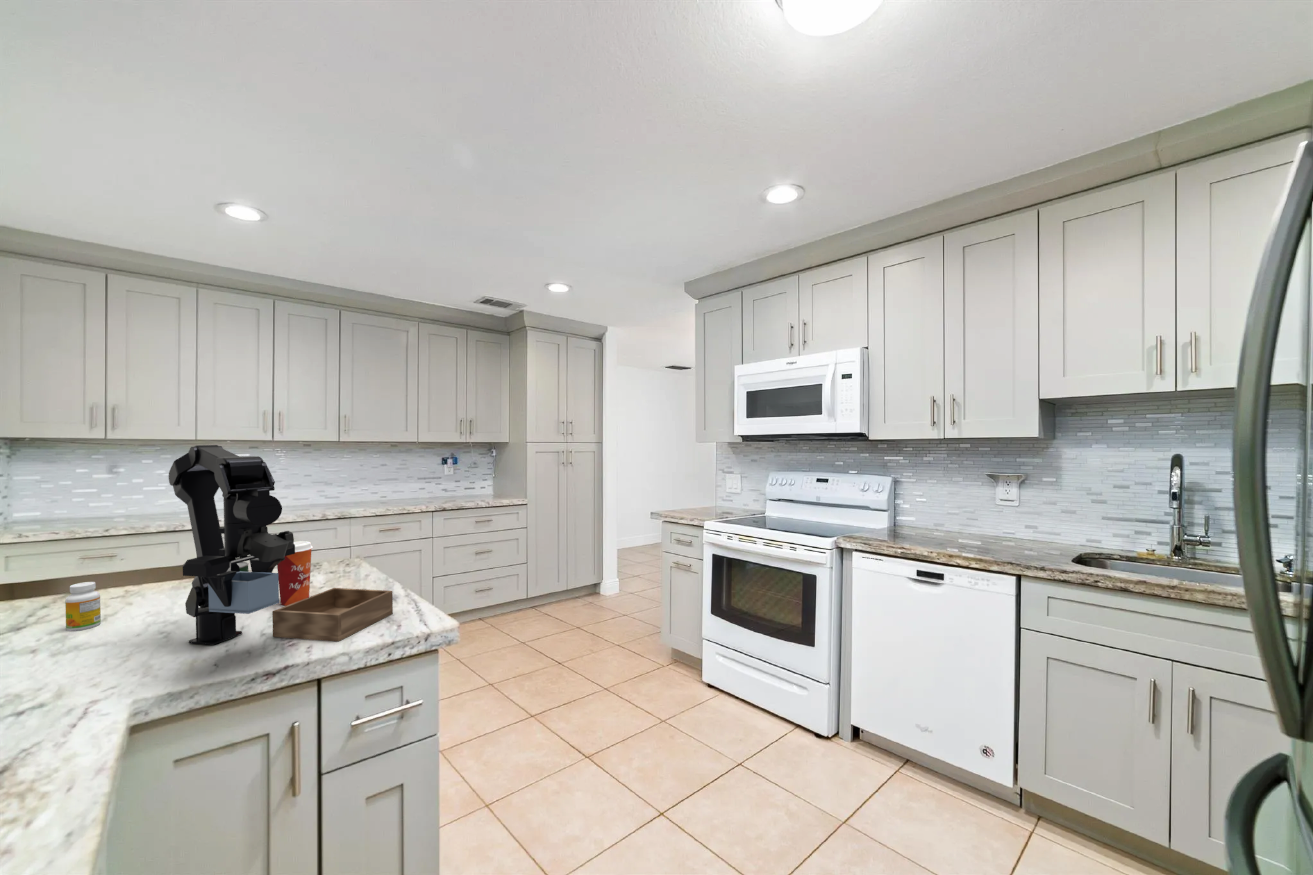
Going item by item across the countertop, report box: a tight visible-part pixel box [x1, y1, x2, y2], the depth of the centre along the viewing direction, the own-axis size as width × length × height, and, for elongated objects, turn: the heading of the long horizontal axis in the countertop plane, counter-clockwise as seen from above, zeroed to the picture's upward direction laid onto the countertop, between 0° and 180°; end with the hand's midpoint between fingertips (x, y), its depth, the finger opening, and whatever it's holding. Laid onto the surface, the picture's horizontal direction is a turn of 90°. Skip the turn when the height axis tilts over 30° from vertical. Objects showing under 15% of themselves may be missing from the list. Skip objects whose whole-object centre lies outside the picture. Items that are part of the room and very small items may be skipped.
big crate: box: [271, 587, 394, 642], centre depth 121 cm, size 16×17×6 cm
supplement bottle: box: [64, 581, 102, 632], centre depth 121 cm, size 5×5×10 cm
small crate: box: [208, 571, 280, 615], centre depth 105 cm, size 9×6×6 cm
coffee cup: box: [276, 540, 314, 607], centre depth 138 cm, size 8×8×15 cm
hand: (244, 600), depth 105 cm, fingers closed on small crate, 6 cm apart
